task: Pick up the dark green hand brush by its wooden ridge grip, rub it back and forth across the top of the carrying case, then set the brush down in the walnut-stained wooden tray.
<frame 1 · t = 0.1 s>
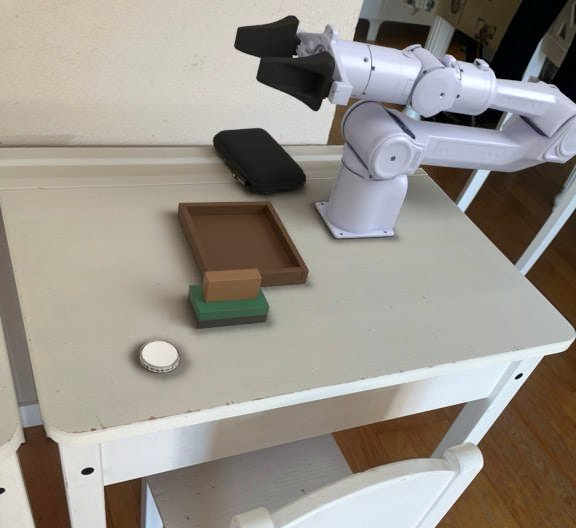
hand: (247, 53, 65), 22 cm above the table, tool horizontal, fingers open, 7 cm apart
white bottle cap: (159, 359, 64), on the table
carrying case: (253, 170, 92), on the table
tray: (239, 249, 79), on the table
brush: (226, 311, 70), on the table
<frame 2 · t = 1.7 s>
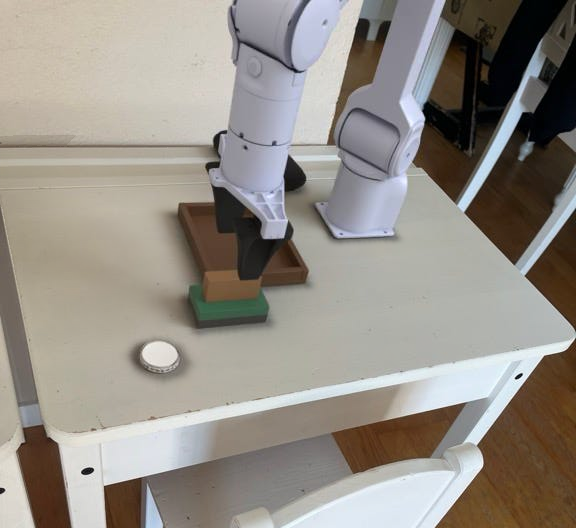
hand: (237, 253, 64), 8 cm above the table, tool pointing down, fingers open, 7 cm apart
nothing on the table moved.
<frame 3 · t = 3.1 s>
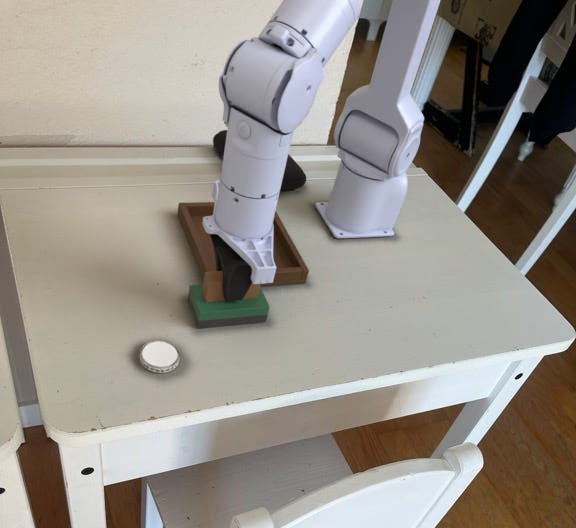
hand: (230, 291, 68), 3 cm above the table, tool pointing down, fingers closed on brush, 2 cm apart
brush: (226, 311, 70), on the table, touching gripper
everything else where it was.
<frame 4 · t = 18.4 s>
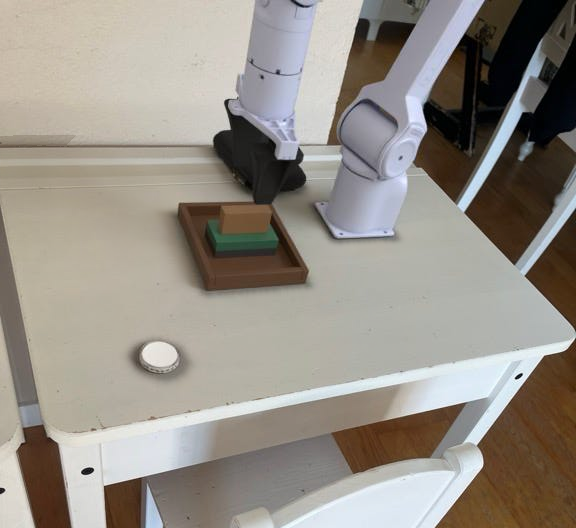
hand: (252, 183, 72), 9 cm above the table, tool pointing down, fingers open, 7 cm apart
brush: (239, 245, 78), point 1 cm above the table, touching tray
everything else where it was.
at the end: brush inside the target area in the tray (0.1 cm from its centre), point 0.6 cm above the tray's base; brush tilted 0°; carrying case moved 0.2 cm from its start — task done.
